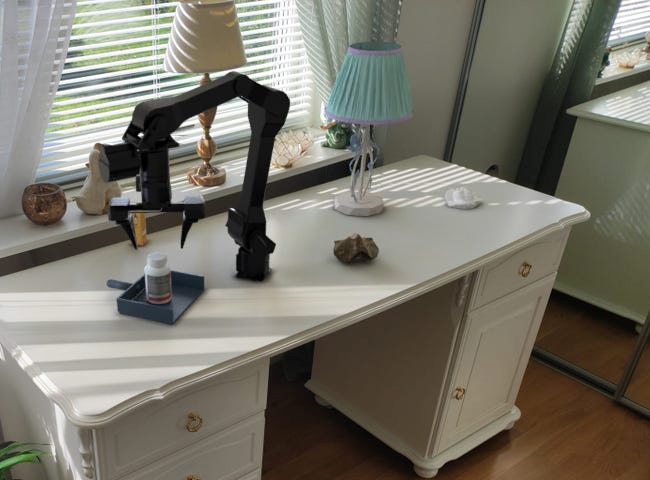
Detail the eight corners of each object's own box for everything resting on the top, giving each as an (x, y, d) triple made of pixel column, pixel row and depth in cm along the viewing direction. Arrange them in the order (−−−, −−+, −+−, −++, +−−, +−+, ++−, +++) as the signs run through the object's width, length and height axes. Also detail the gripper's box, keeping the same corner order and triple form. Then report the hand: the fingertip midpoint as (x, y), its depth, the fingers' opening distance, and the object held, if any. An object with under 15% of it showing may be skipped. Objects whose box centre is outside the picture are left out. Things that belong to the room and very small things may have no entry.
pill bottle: (176, 300, 149) (175, 257, 144) (154, 307, 147) (152, 264, 141) (163, 290, 153) (161, 248, 147) (141, 297, 150) (138, 254, 145)
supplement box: (148, 240, 176) (145, 201, 171) (142, 246, 173) (140, 206, 168) (135, 239, 177) (132, 200, 172) (130, 244, 174) (127, 205, 169)
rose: (441, 180, 194) (478, 180, 194) (439, 196, 196) (474, 196, 196) (452, 193, 186) (490, 193, 185) (449, 210, 188) (487, 209, 188)
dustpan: (204, 290, 153) (204, 276, 151) (172, 324, 141) (171, 309, 139) (125, 275, 160) (124, 261, 158) (88, 307, 148) (86, 292, 146)
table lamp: (339, 188, 204) (352, 36, 182) (412, 202, 193) (436, 42, 171) (303, 212, 189) (312, 49, 168) (380, 229, 179) (401, 58, 157)
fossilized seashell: (377, 241, 166) (334, 245, 168) (377, 224, 160) (331, 229, 163) (380, 268, 163) (335, 272, 165) (379, 251, 157) (333, 256, 159)
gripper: (203, 158, 143) (204, 231, 151) (110, 160, 143) (116, 233, 152) (204, 176, 133) (205, 253, 142) (104, 179, 134) (111, 256, 142)
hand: (159, 248), depth 145 cm, fingers open, 9 cm apart
